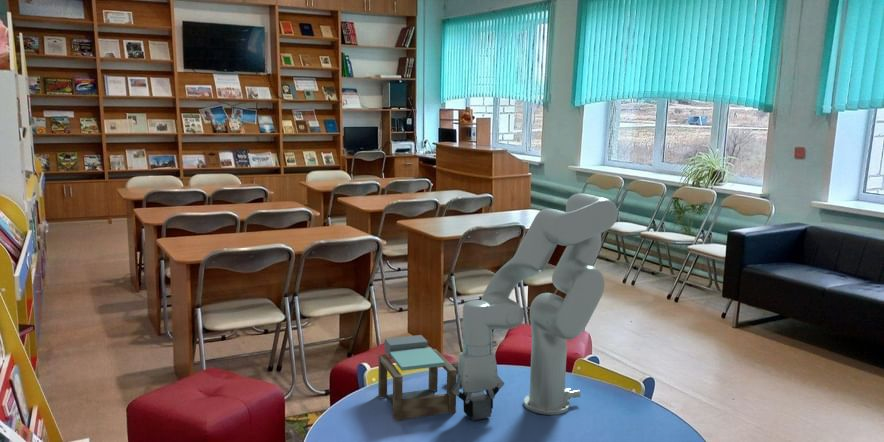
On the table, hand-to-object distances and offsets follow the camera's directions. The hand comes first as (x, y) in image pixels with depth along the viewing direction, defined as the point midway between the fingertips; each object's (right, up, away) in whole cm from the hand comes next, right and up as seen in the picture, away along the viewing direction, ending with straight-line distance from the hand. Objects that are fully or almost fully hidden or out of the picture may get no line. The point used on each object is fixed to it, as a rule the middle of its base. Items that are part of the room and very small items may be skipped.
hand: (478, 412), depth 182 cm
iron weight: (0, 0, 0) cm, 1 cm away
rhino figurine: (-1, +3, +25) cm, 25 cm away
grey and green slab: (-18, +12, +9) cm, 23 cm away
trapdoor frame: (-17, 0, +8) cm, 18 cm away
